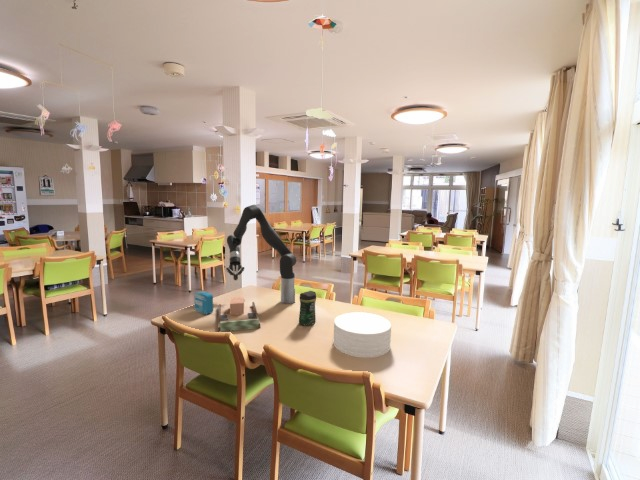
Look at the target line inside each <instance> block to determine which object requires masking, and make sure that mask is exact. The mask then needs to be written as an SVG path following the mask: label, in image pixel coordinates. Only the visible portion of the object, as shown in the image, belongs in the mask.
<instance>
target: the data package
mask: <svg viewBox="0 0 640 480" xmlns="http://www.w3.org/2000/svg"><path fill="white" fill-rule="evenodd" d="M193 296H194V297H193V299H194V311H195V312H197V313H201V314H204V315H209V314H211V313H213V311H214V295H213V293H210V292H207V291H203V290H199V291H196V292H194V295H193Z"/></svg>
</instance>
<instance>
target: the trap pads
mask: <svg viewBox="0 0 640 480" xmlns="http://www.w3.org/2000/svg"><path fill="white" fill-rule="evenodd" d="M228 317H229V316H228V314H221V321H229V320H228V319H229V318H228ZM247 317H248V319H256V317H255V313H254V312H247Z"/></svg>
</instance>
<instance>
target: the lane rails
mask: <svg viewBox="0 0 640 480" xmlns="http://www.w3.org/2000/svg"><path fill="white" fill-rule="evenodd" d="M251 304H252V309H253V313H255V317H256V318H248V319H241V320H239V319H237V320H224V321H222V320H221V315H222V314H221V313H222V311H221V310H222V304H221V303H219V305H218V326H217V327H218V328H217V329H218V330H217V331H223V332H231V331H232V330H234V331H242V330H251V329H252V330H253V329H255V330H256V329H260V328H261V322H260V318H259V315H258V311H257V307H256V303H255V301H252V303H251ZM229 330H230V331H229Z"/></svg>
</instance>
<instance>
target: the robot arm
mask: <svg viewBox="0 0 640 480" xmlns="http://www.w3.org/2000/svg"><path fill="white" fill-rule="evenodd" d="M254 219H255V220H256V221H257V222H258V224H259V227H260V233H261V237H262V238H263V240H265V242H266V243H267V244H268V245H269V246H270V247H271V248H272V249H274V250H275V251H276V252H277V253H278V254H279V256H280V259H279V273H280V302H281V303H282V304H293V303H296V288H295V276H296V275H295V272H294V270H293V267H294V266H295V265H296V264H297V257H296V256H295V254H294V253H293V252H292V251H291V250H290V249H289V248H288V247H287V245H286V244H285V242H284V241H283V240H282V239H281V237H280V236H279V234H278V233H277V232H276V230H275V229H274V228H273V227H272V225H271V224H270V222H269V221H268V220H267V219H268V218H267V217H266V215H265V214H264V212H263V211H262V210H261V208H260V206H258V205H257V204H251V205H248V206H246V207H244V208H243V211H242V213H241V215H240V219H239V221H238V224H237V226H236V228H235V229H234V232H233V235H232V234H229V235H228V236H227V238H226V243H227V246H228V249H229V257H228V258H229V265H228V267H226V269H225V270H226V272H227V273H228V274H229V275H230V276H232V278H233V280H234V281H238V278H239V276H240V275H241V274H243V272H244V271H245V267H244V266H242V264H241V261H242V260H241V253H240V252H241V251H240V245H241V244H242V241H243V236H244V235H245V233H246V231H247V229H248V223H249V222H250V221H251V220H254Z"/></svg>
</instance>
